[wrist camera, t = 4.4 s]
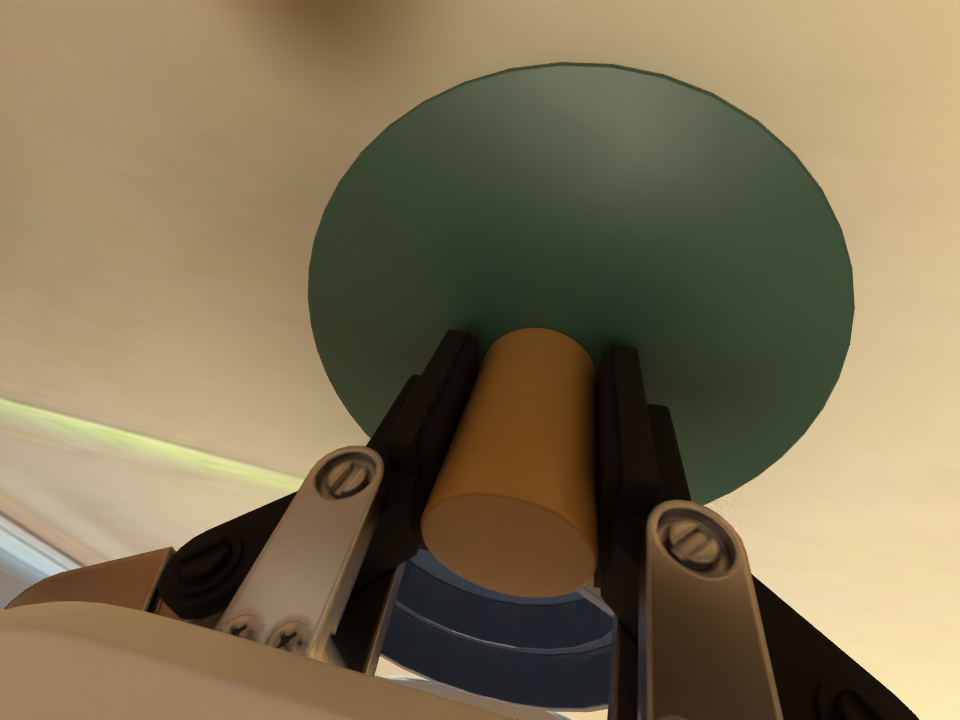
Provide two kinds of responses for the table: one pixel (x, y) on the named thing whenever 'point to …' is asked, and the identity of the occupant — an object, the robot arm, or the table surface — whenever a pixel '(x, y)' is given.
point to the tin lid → (579, 296)
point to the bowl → (501, 640)
